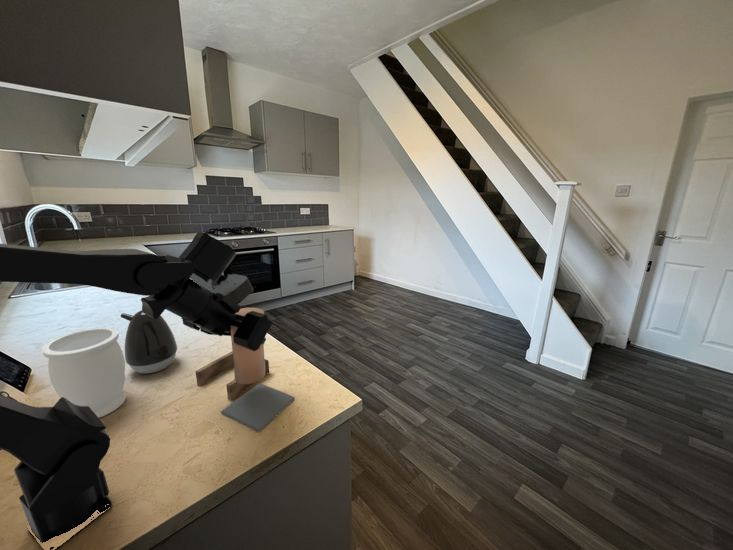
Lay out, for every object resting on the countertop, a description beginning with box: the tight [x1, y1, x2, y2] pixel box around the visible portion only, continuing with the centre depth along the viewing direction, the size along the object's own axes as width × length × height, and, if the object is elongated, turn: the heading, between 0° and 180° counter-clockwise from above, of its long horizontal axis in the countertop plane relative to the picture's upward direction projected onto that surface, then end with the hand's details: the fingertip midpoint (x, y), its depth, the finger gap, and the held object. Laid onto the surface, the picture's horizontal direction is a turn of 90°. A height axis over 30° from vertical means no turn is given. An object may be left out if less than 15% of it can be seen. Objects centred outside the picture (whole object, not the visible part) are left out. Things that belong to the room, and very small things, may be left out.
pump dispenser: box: [120, 309, 178, 374], centre depth 69 cm, size 10×10×15 cm
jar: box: [41, 327, 127, 419], centre depth 56 cm, size 11×10×15 cm
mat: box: [221, 382, 295, 433], centre depth 59 cm, size 10×10×1 cm
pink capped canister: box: [230, 307, 266, 384], centre depth 59 cm, size 7×7×14 cm
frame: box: [194, 351, 270, 401], centre depth 67 cm, size 11×11×4 cm
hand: (253, 337), depth 60 cm, fingers closed on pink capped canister, 6 cm apart
